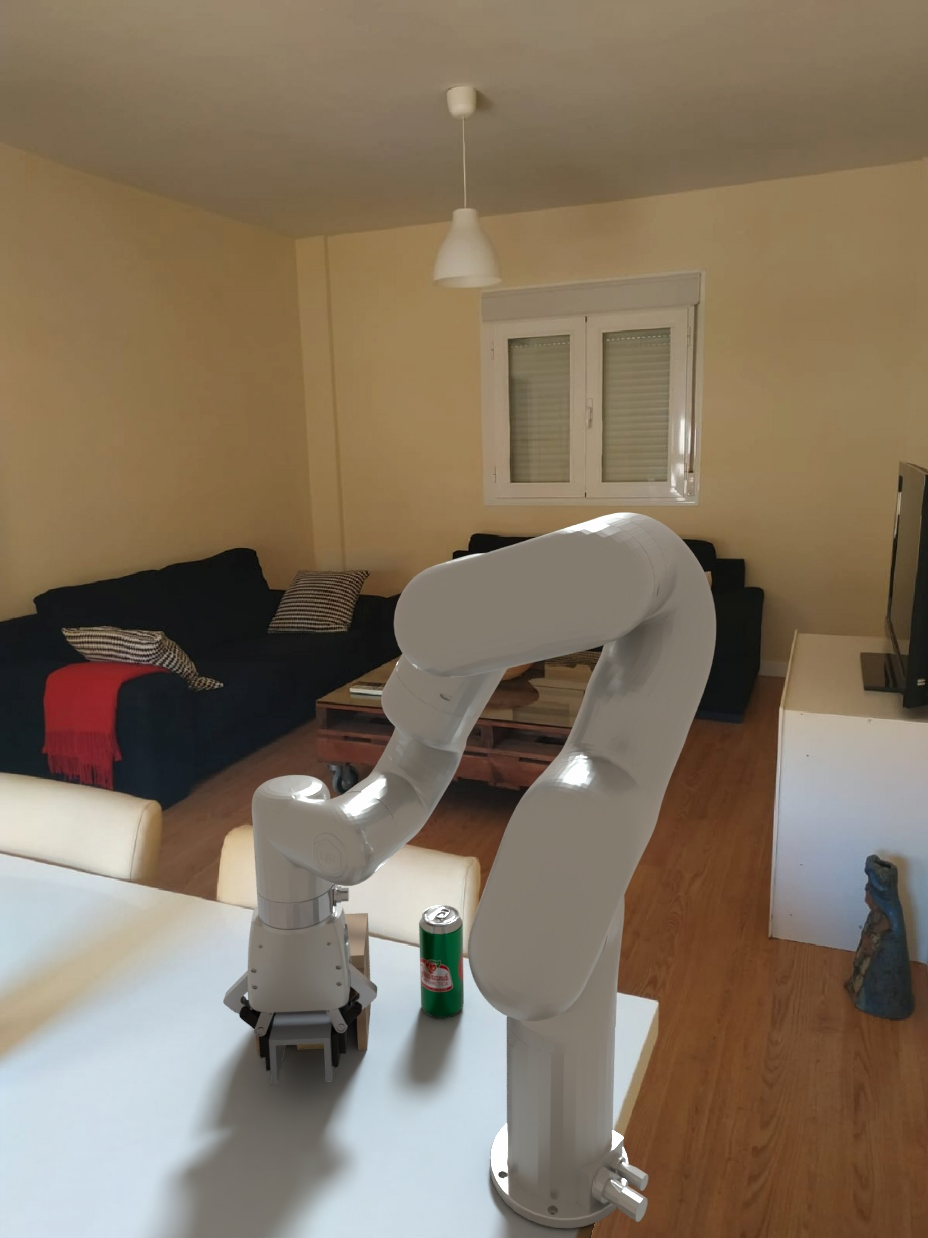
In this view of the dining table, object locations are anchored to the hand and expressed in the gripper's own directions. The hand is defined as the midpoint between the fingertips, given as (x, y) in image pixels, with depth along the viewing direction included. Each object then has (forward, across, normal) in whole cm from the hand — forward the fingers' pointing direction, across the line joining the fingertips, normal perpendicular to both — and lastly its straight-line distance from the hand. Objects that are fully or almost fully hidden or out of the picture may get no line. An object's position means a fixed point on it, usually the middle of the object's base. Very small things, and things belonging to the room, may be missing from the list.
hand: (304, 1058), depth 89 cm
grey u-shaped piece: (+1, 0, -4) cm, 5 cm away
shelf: (+3, 0, -9) cm, 10 cm away
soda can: (+3, -15, -12) cm, 19 cm away
